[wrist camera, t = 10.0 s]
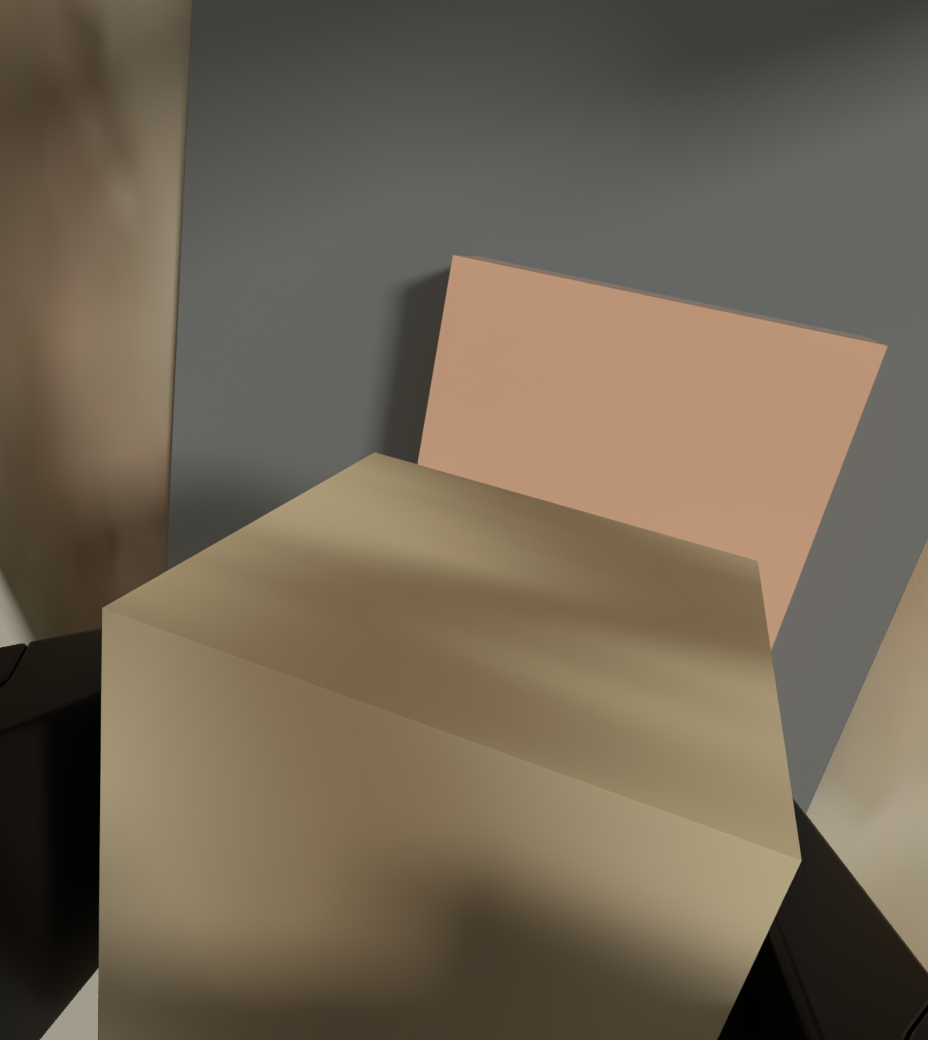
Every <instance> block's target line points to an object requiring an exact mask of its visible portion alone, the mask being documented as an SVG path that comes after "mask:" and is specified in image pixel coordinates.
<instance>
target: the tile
mask: <svg viewBox="0 0 928 1040" xmlns="http://www.w3.org/2000/svg"><path fill="white" fill-rule="evenodd" d="M887 347H888V346H887V345H884V344H882V343H880V342H877V341H875V340H872V339H870V338H868V337H865V336H860V335H856V334H851V333H846V332H841V331H836V330H832V329H827V328H822V327H817V326H812V325H808V324H803V323H798V322H793V321H788V320H784V319H779V318H774V317H769V316H764V315H759V314H755V313H750V312H745V311H740V310H735V309H731V308H726V307H721V306H716V305H711V304H707V303H702V302H697V301H692V300H687V299H683V298H678V297H673V296H668V295H663V294H659V293H654V292H649V291H644V290H639V289H634V288H630V287H625V286H620V285H615V284H610V283H606V282H601V281H596V280H591V279H586V278H582V277H577V276H572V275H567V274H562V273H558V272H553V271H548V270H543V269H538V268H534V267H529V266H524V265H519V264H514V263H510V262H505V261H500V260H495V259H490V258H485V257H481V256H462V255H453V258H452V264H451V270H450V276H449V281H448V287H447V293H446V299H445V305H444V311H443V317H442V323H441V329H440V334H439V340H438V346H437V352H436V358H435V364H434V370H433V376H432V382H431V387H430V393H429V399H428V405H427V411H426V417H425V423H424V429H423V435H422V441H421V446H420V452H419V458H418V465H421V466H425V467H428V468H432V469H435V470H439V471H442V472H446V473H449V474H453V475H456V476H460V477H464V478H467V479H471V480H474V481H478V482H481V483H485V484H488V485H492V486H495V487H499V488H502V489H506V490H509V491H513V492H516V493H520V494H523V495H527V496H530V497H534V498H538V499H541V500H545V501H548V502H552V503H555V504H559V505H562V506H566V507H569V508H573V509H576V510H580V511H583V512H587V513H590V514H594V515H597V516H601V517H605V518H608V519H612V520H615V521H619V522H622V523H626V524H629V525H633V526H636V527H640V528H643V529H647V530H650V531H654V532H657V533H661V534H664V535H668V536H671V537H675V538H679V539H682V540H686V541H689V542H693V543H696V544H700V545H703V546H707V547H710V548H714V549H717V550H721V551H724V552H728V553H731V554H735V555H738V556H742V557H745V558H749V559H753V560H756V561H758V566H759V573H760V579H761V586H762V593H763V600H764V607H765V614H766V620H767V627H768V634H769V641H770V648H771V650H772V647H773V645H774V642H775V639H776V637H777V634H778V631H779V629H780V626H781V624H782V621H783V618H784V616H785V613H786V611H787V608H788V605H789V603H790V600H791V598H792V595H793V592H794V590H795V587H796V584H797V582H798V579H799V577H800V574H801V571H802V569H803V566H804V564H805V561H806V558H807V556H808V553H809V550H810V548H811V545H812V543H813V540H814V537H815V535H816V532H817V530H818V527H819V524H820V522H821V519H822V517H823V514H824V511H825V509H826V506H827V503H828V501H829V498H830V496H831V493H832V490H833V488H834V485H835V483H836V480H837V477H838V475H839V472H840V469H841V467H842V464H843V462H844V459H845V456H846V454H847V451H848V449H849V446H850V443H851V441H852V438H853V436H854V433H855V430H856V428H857V425H858V422H859V420H860V417H861V415H862V412H863V409H864V407H865V404H866V402H867V399H868V396H869V394H870V391H871V388H872V386H873V383H874V381H875V378H876V375H877V373H878V370H879V368H880V365H881V362H882V360H883V357H884V355H885V352H886V349H887Z"/></svg>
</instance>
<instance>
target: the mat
mask: <svg viewBox="0 0 928 1040" xmlns="http://www.w3.org/2000/svg"><path fill="white" fill-rule="evenodd" d="M453 255H462V256H481V257H485V258H490V259H495V260H500V261H505V262H510V263H514V264H519V265H524V266H529V267H534V268H538V269H543V270H548V271H553V272H558V273H562V274H567V275H572V276H577V277H582V278H586V279H591V280H596V281H601V282H606V283H610V284H615V285H620V286H625V287H630V288H634V289H639V290H644V291H649V292H654V293H659V294H663V295H668V296H673V297H678V298H683V299H687V300H692V301H697V302H702V303H707V304H711V305H716V306H721V307H726V308H731V309H735V310H740V311H745V312H750V313H755V314H759V315H764V316H769V317H774V318H779V319H784V320H788V321H793V322H798V323H803V324H808V325H812V326H817V327H822V328H827V329H832V330H836V331H841V332H846V333H851V334H856V335H860V336H865V337H868V338H870V339H872V340H875V341H877V342H880V343H882V344H884V345H887V346H888V347H887V349H886V352H885V355H884V357H883V360H882V362H881V365H880V368H879V370H878V373H877V375H876V378H875V381H874V383H873V386H872V388H871V391H870V394H869V396H868V399H867V402H866V404H865V407H864V409H863V412H862V415H861V417H860V420H859V422H858V425H857V428H856V430H855V433H854V436H853V438H852V441H851V443H850V446H849V449H848V451H847V454H846V456H845V459H844V462H843V464H842V467H841V469H840V472H839V475H838V477H837V480H836V483H835V485H834V488H833V490H832V493H831V496H830V498H829V501H828V503H827V506H826V509H825V511H824V514H823V517H822V519H821V522H820V524H819V527H818V530H817V532H816V535H815V537H814V540H813V543H812V545H811V548H810V550H809V553H808V556H807V558H806V561H805V564H804V566H803V569H802V571H801V574H800V577H799V579H798V582H797V584H796V587H795V590H794V592H793V595H792V598H791V600H790V603H789V605H788V608H787V611H786V613H785V616H784V618H783V621H782V624H781V626H780V629H779V631H778V634H777V637H776V639H775V642H774V645H773V647H772V650H771V655H772V661H773V668H774V675H775V682H776V689H777V696H778V702H779V709H780V716H781V723H782V730H783V737H784V743H785V750H786V757H787V764H788V771H789V778H790V784H791V791H792V797H793V798H794V800H795V801H796V802H797V803H798V805H799V806H800V807H801V809H802V810H803V811H804V813H805V814H806V812H807V810H808V808H809V806H810V803H811V801H812V799H813V797H814V794H815V792H816V790H817V788H818V785H819V783H820V781H821V778H822V776H823V774H824V772H825V769H826V767H827V765H828V763H829V760H830V758H831V756H832V754H833V751H834V749H835V747H836V745H837V742H838V740H839V738H840V735H841V733H842V731H843V729H844V726H845V724H846V722H847V720H848V717H849V715H850V713H851V711H852V708H853V706H854V704H855V702H856V699H857V697H858V695H859V692H860V690H861V688H862V686H863V683H864V681H865V679H866V677H867V674H868V672H869V670H870V668H871V665H872V663H873V661H874V659H875V656H876V654H877V652H878V649H879V647H880V645H881V643H882V640H883V638H884V636H885V634H886V631H887V629H888V627H889V625H890V622H891V620H892V618H893V616H894V613H895V611H896V609H897V606H898V604H899V602H900V600H901V597H902V595H903V593H904V591H905V588H906V586H907V584H908V582H909V579H910V577H911V575H912V573H913V570H914V568H915V566H916V563H917V561H918V559H919V557H920V554H921V552H922V550H923V548H924V545H925V543H926V541H927V539H928V0H193V2H192V24H191V45H190V67H189V89H188V110H187V132H186V153H185V175H184V197H183V218H182V240H181V261H180V283H179V305H178V326H177V348H176V369H175V391H174V413H173V434H172V456H171V477H170V499H169V521H168V542H167V564H166V571H168V570H170V569H171V568H173V567H175V566H177V565H178V564H180V563H182V562H184V561H185V560H187V559H189V558H191V557H192V556H194V555H196V554H198V553H199V552H201V551H203V550H205V549H206V548H208V547H210V546H212V545H213V544H215V543H217V542H219V541H220V540H222V539H224V538H226V537H227V536H229V535H231V534H233V533H234V532H236V531H238V530H240V529H241V528H243V527H245V526H247V525H248V524H250V523H252V522H254V521H255V520H257V519H259V518H261V517H262V516H264V515H266V514H268V513H269V512H271V511H273V510H275V509H276V508H278V507H280V506H282V505H283V504H285V503H287V502H289V501H290V500H292V499H294V498H296V497H297V496H299V495H301V494H303V493H304V492H306V491H308V490H310V489H311V488H313V487H315V486H317V485H318V484H320V483H322V482H324V481H325V480H327V479H329V478H331V477H332V476H334V475H336V474H338V473H339V472H341V471H343V470H345V469H346V468H348V467H350V466H352V465H353V464H355V463H357V462H359V461H360V460H362V459H364V458H366V457H367V456H369V455H371V454H373V453H374V452H375V453H379V454H382V455H386V456H390V457H393V458H397V459H400V460H404V461H407V462H411V463H414V464H418V458H419V452H420V446H421V441H422V435H423V429H424V423H425V417H426V411H427V405H428V399H429V393H430V387H431V382H432V376H433V370H434V364H435V358H436V352H437V346H438V340H439V334H440V329H441V323H442V317H443V311H444V305H445V299H446V293H447V287H448V281H449V276H450V270H451V264H452V258H453Z"/></svg>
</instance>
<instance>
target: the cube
mask: <svg viewBox="0 0 928 1040" xmlns="http://www.w3.org/2000/svg"><path fill="white" fill-rule="evenodd" d="M801 861H802V860H801V853H800V846H799V839H798V832H797V825H796V819H795V812H794V805H793V798H792V791H791V784H790V778H789V771H788V764H787V757H786V750H785V743H784V737H783V730H782V723H781V716H780V709H779V702H778V696H777V689H776V682H775V675H774V668H773V661H772V655H771V648H770V641H769V634H768V627H767V620H766V614H765V607H764V600H763V593H762V586H761V579H760V573H759V566H758V561H756V560H753V559H749V558H745V557H742V556H738V555H735V554H731V553H728V552H724V551H721V550H717V549H714V548H710V547H707V546H703V545H700V544H696V543H693V542H689V541H686V540H682V539H679V538H675V537H671V536H668V535H664V534H661V533H657V532H654V531H650V530H647V529H643V528H640V527H636V526H633V525H629V524H626V523H622V522H619V521H615V520H612V519H608V518H605V517H601V516H597V515H594V514H590V513H587V512H583V511H580V510H576V509H573V508H569V507H566V506H562V505H559V504H555V503H552V502H548V501H545V500H541V499H538V498H534V497H530V496H527V495H523V494H520V493H516V492H513V491H509V490H506V489H502V488H499V487H495V486H492V485H488V484H485V483H481V482H478V481H474V480H471V479H467V478H464V477H460V476H456V475H453V474H449V473H446V472H442V471H439V470H435V469H432V468H428V467H425V466H421V465H418V464H414V463H411V462H407V461H404V460H400V459H397V458H393V457H390V456H386V455H382V454H379V453H375V452H374V453H373V454H371V455H369V456H367V457H366V458H364V459H362V460H360V461H359V462H357V463H355V464H353V465H352V466H350V467H348V468H346V469H345V470H343V471H341V472H339V473H338V474H336V475H334V476H332V477H331V478H329V479H327V480H325V481H324V482H322V483H320V484H318V485H317V486H315V487H313V488H311V489H310V490H308V491H306V492H304V493H303V494H301V495H299V496H297V497H296V498H294V499H292V500H290V501H289V502H287V503H285V504H283V505H282V506H280V507H278V508H276V509H275V510H273V511H271V512H269V513H268V514H266V515H264V516H262V517H261V518H259V519H257V520H255V521H254V522H252V523H250V524H248V525H247V526H245V527H243V528H241V529H240V530H238V531H236V532H234V533H233V534H231V535H229V536H227V537H226V538H224V539H222V540H220V541H219V542H217V543H215V544H213V545H212V546H210V547H208V548H206V549H205V550H203V551H201V552H199V553H198V554H196V555H194V556H192V557H191V558H189V559H187V560H185V561H184V562H182V563H180V564H178V565H177V566H175V567H173V568H171V569H170V570H168V571H166V572H164V573H163V574H161V575H159V576H157V577H156V578H154V579H152V580H150V581H149V582H147V583H145V584H143V585H142V586H140V587H138V588H136V589H135V590H133V591H131V592H129V593H128V594H126V595H124V596H122V597H121V598H119V599H117V600H115V601H114V602H112V603H110V604H108V605H107V606H105V607H103V608H102V683H101V784H100V886H99V988H98V989H99V990H98V991H99V992H98V996H99V997H98V1040H717V1039H718V1037H719V1035H720V1033H721V1031H722V1028H723V1026H724V1024H725V1022H726V1020H727V1018H728V1016H729V1014H730V1011H731V1009H732V1007H733V1005H734V1003H735V1001H736V999H737V997H738V994H739V992H740V990H741V988H742V986H743V984H744V982H745V980H746V977H747V975H748V973H749V971H750V969H751V967H752V965H753V963H754V961H755V958H756V956H757V954H758V952H759V950H760V948H761V946H762V944H763V941H764V939H765V937H766V935H767V933H768V931H769V929H770V927H771V924H772V922H773V920H774V918H775V916H776V914H777V912H778V910H779V907H780V905H781V903H782V901H783V899H784V897H785V895H786V893H787V891H788V888H789V886H790V884H791V882H792V880H793V878H794V876H795V874H796V871H797V869H798V867H799V865H800V863H801Z"/></svg>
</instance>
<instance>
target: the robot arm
mask: <svg viewBox="0 0 928 1040" xmlns="http://www.w3.org/2000/svg"><path fill="white" fill-rule="evenodd" d="M101 683H102V628H100V629H95V630H90V631H84V632H79V633H74V634H69V635H64V636H59V637H53V638H48V639H43V640H38V641H33V642H30V643H29V645H28V646H26V644H23V643H21V644H16V645H12V646H6V647H1V648H0V1040H40V1039H41V1038H42V1036H43V1035H44V1034H45V1033H46V1031H47V1030H48V1029H49V1028H50V1027H51V1025H52V1024H53V1023H54V1022H55V1020H56V1019H57V1018H58V1017H59V1016H60V1014H61V1013H62V1012H63V1011H64V1009H65V1008H66V1007H67V1006H68V1004H69V1003H70V1002H71V1001H72V1000H73V998H74V997H75V996H76V995H77V993H78V992H79V991H80V990H81V989H82V987H83V986H84V985H85V984H86V982H87V981H88V980H89V979H90V978H91V976H92V975H93V974H94V973H95V971H96V970H97V969H98V968H99V886H100V784H101ZM792 798H793V797H792ZM793 805H794V812H795V819H796V825H797V832H798V839H799V846H800V853H801V860H802V861H801V863H800V865H799V867H798V869H797V871H796V874H795V876H794V878H793V880H792V882H791V884H790V886H789V888H788V891H787V893H786V895H785V897H784V899H783V901H782V903H781V905H780V907H779V910H778V912H777V914H776V916H775V918H774V920H773V922H772V924H771V927H770V929H769V931H768V933H767V935H766V937H765V939H764V941H763V944H762V946H761V948H760V950H759V952H758V954H757V956H756V958H755V961H754V963H753V965H752V967H751V969H750V971H749V973H748V975H747V977H746V980H745V982H744V984H743V986H742V988H741V990H740V992H739V994H738V997H737V999H736V1001H735V1003H734V1005H733V1007H732V1009H731V1011H730V1014H729V1016H728V1018H727V1020H726V1022H725V1024H724V1026H723V1028H722V1031H721V1033H720V1035H719V1037H718V1039H717V1040H928V972H927V971H926V969H925V968H924V967H923V966H922V964H921V963H920V962H919V960H918V959H917V958H916V957H915V955H914V954H913V953H912V951H911V950H910V949H909V947H908V946H907V945H906V944H905V942H904V941H903V940H902V938H901V937H900V936H899V934H898V933H897V932H896V931H895V929H894V928H893V927H892V925H891V924H890V923H889V921H888V920H887V919H886V918H885V916H884V915H883V914H882V912H881V911H880V910H879V909H878V907H877V906H876V905H875V903H874V902H873V901H872V899H871V898H870V897H869V896H868V894H867V893H866V892H865V890H864V889H863V888H862V886H861V885H860V884H859V883H858V881H857V880H856V879H855V877H854V876H853V875H852V873H851V872H850V871H849V870H848V868H847V867H846V866H845V864H844V863H843V862H842V861H841V859H840V858H839V857H838V855H837V854H836V853H835V851H834V850H833V849H832V848H831V846H830V845H829V844H828V842H827V841H826V840H825V838H824V837H823V836H822V835H821V833H820V832H819V831H818V829H817V828H816V827H815V825H814V824H813V823H812V822H811V820H810V819H809V818H808V816H807V815H806V814H805V813H804V811H803V810H802V809H801V807H800V806H799V805H798V803H797V802H796V801H795V800H794V798H793Z"/></svg>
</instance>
